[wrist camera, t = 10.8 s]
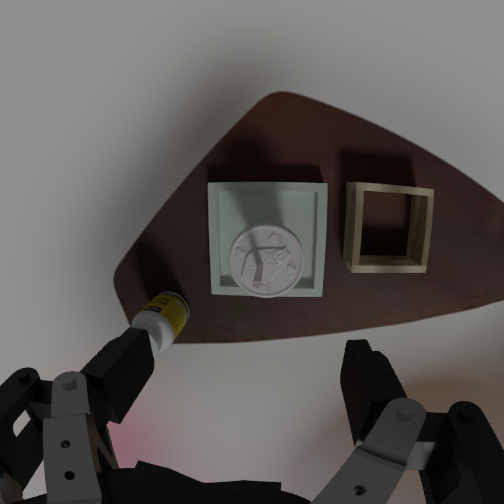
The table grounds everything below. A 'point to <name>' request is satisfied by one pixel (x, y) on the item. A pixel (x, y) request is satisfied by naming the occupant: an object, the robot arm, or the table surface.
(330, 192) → the table surface
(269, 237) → the smoothie
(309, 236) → the tray
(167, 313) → the supplement bottle
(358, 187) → the holder
